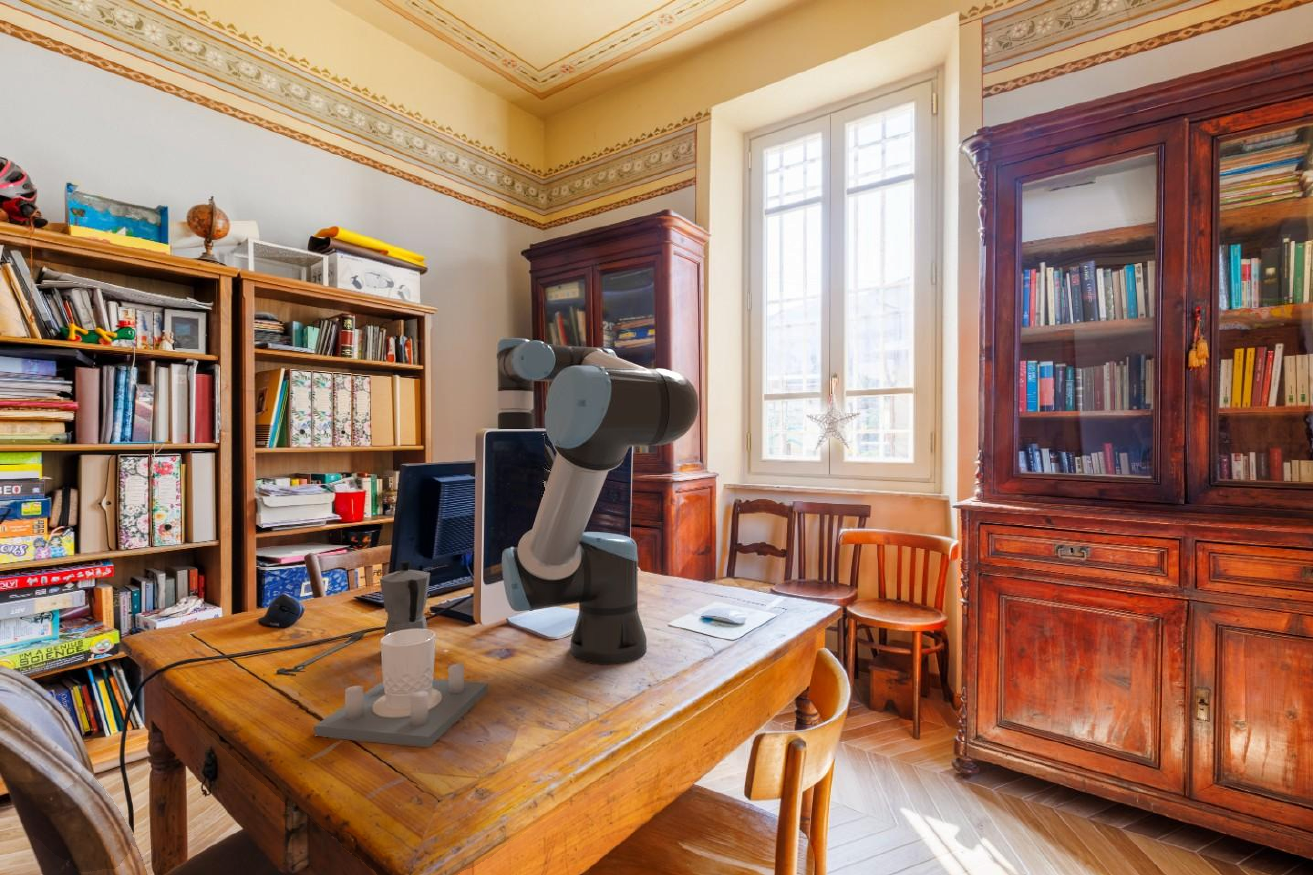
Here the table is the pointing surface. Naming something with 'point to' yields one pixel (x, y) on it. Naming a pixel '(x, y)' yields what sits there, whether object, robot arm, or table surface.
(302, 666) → the tactical tomahawk
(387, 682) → the white cup
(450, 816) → the table surface
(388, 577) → the coffeepot
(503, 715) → the table surface
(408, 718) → the peg stand
